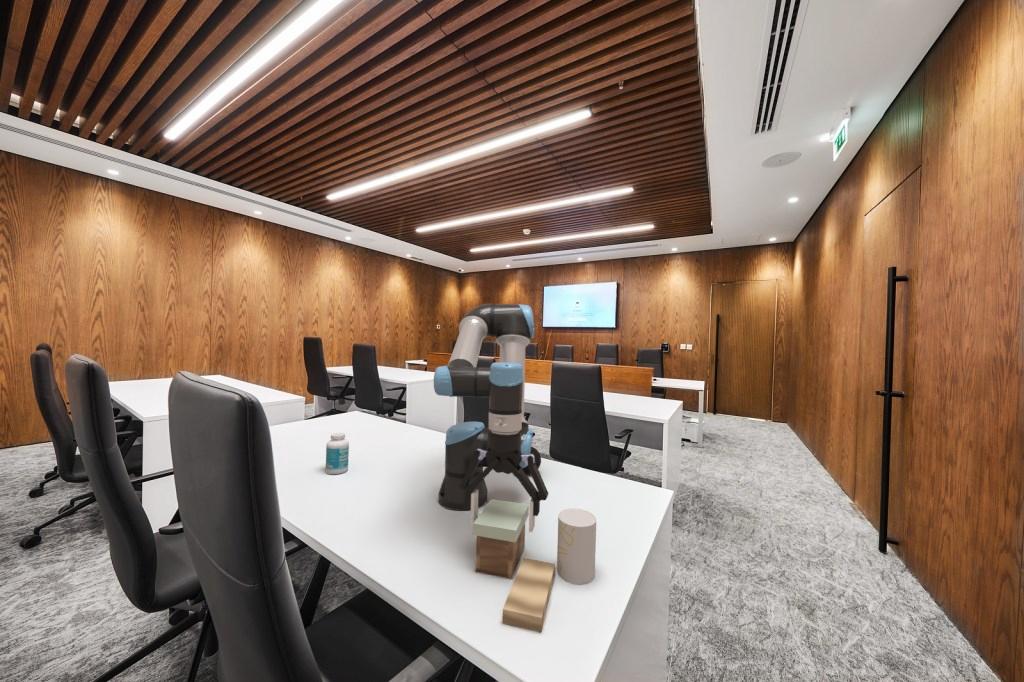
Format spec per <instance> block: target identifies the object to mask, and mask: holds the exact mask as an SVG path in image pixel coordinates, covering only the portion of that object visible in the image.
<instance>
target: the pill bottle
mask: <svg viewBox="0 0 1024 682" xmlns="http://www.w3.org/2000/svg"><path fill="white" fill-rule="evenodd" d="M325 447H326V448H325V452H326V453H325V472H326V474H328V475H341V474H344V473H345V472H347V471H348V470H349V453H350V451H349V450H350V449H349V448H350V441H348V440H347V439H346V434H345V433H343V432H335V433H331V434H330V440H328V441H327V442H326V446H325ZM340 473H341V474H340Z"/></svg>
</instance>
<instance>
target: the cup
mask: <svg viewBox="0 0 1024 682" xmlns="http://www.w3.org/2000/svg"><path fill="white" fill-rule="evenodd" d="M557 515H558V516H557V520H558V521H557V523H558V524H557V544H556V545H557V546H556V547H557V548H556V549H557V550H556V551H557V552H556V573H557V575H558V576H559V578H561V579H562V580H563V581H565V582H567V583H569V584H573V585H580V586H581V585H587V584H589V583H591V582H592V581H593V580H594V579H595V576H596V574H595V573H596V546H597V545H596V542H597V517H596V516H595V515H594V514H593V513H592V512H590V511H588V510H586V509H580V508H567V509H566V508H565V509H563V510H561V511H559V513H558V514H557Z"/></svg>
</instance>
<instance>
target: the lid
mask: <svg viewBox="0 0 1024 682" xmlns="http://www.w3.org/2000/svg"><path fill="white" fill-rule="evenodd" d="M529 506H530V504H529V503H521V502H514V501H508V500H507V501H506V500H501V499H500V500H499V499H492V498H491V499H490V500H489V502H488V503H486V505H485V507H484V508H483V510H481V512H480V513H479V514H478V518H477V519H476V520H475V522H474V523H472V535H473V536H476V537H477V536H481V537H487V538H493V539H499V540H504V541H510V542H516V541H517V539H518V537H519V535H520V532H521V530H522V528H523V526H524V524H525V525H526V522H527V519H528V517H529Z"/></svg>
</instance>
